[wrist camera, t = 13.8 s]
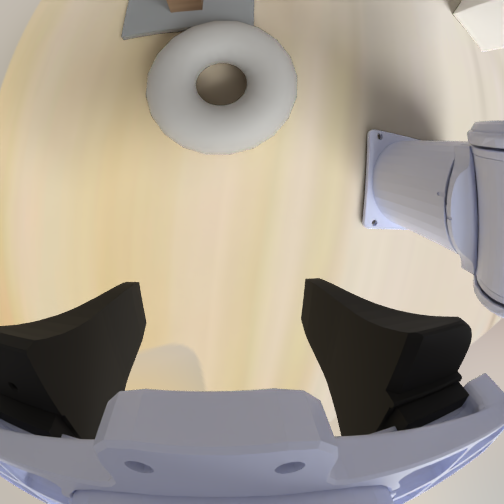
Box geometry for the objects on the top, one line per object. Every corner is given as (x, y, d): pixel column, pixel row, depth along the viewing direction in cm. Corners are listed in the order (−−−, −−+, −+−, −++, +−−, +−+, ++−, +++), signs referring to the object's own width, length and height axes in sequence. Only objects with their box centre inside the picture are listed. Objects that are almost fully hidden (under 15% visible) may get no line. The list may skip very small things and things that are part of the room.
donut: (109, 83, 13) (229, -9, 11) (126, 95, 16) (227, 13, 14) (216, 189, 16) (335, 87, 14) (217, 185, 19) (317, 98, 17)
